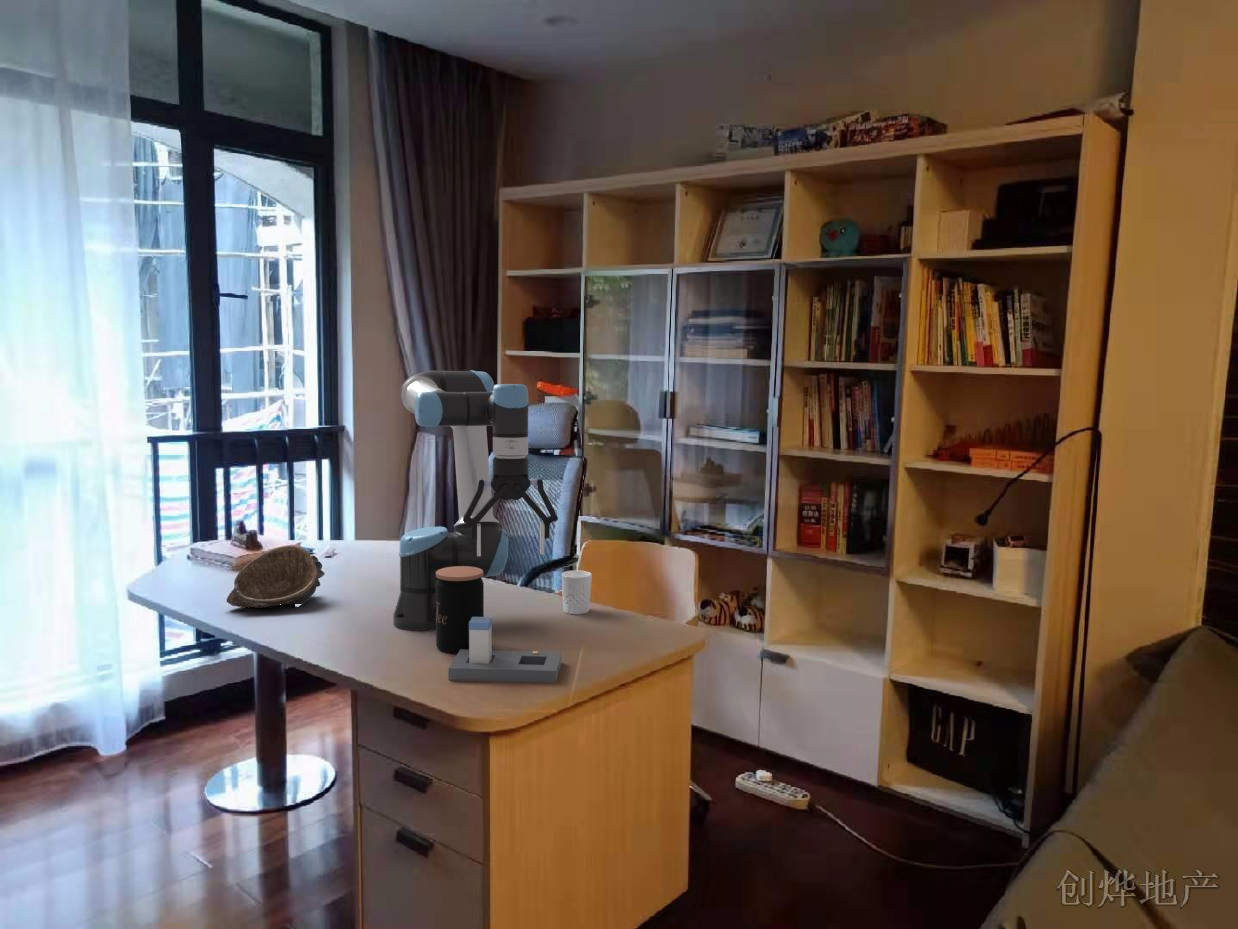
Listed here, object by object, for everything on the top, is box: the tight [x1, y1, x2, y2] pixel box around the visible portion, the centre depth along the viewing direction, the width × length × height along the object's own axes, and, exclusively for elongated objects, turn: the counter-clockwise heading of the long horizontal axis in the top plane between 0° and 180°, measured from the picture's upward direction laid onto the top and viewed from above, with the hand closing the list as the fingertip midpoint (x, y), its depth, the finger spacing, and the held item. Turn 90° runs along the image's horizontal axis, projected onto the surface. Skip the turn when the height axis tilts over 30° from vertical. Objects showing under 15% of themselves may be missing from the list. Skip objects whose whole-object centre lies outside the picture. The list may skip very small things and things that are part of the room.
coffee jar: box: [435, 566, 485, 655], centre depth 207 cm, size 11×11×18 cm
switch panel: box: [447, 649, 562, 684], centre depth 192 cm, size 22×12×3 cm, turn 88°
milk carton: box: [469, 616, 493, 664], centre depth 192 cm, size 4×4×11 cm
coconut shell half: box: [226, 544, 326, 609], centre depth 242 cm, size 15×16×25 cm
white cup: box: [561, 569, 593, 615], centre depth 239 cm, size 8×8×10 cm
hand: (510, 554), depth 197 cm, fingers open, 13 cm apart
